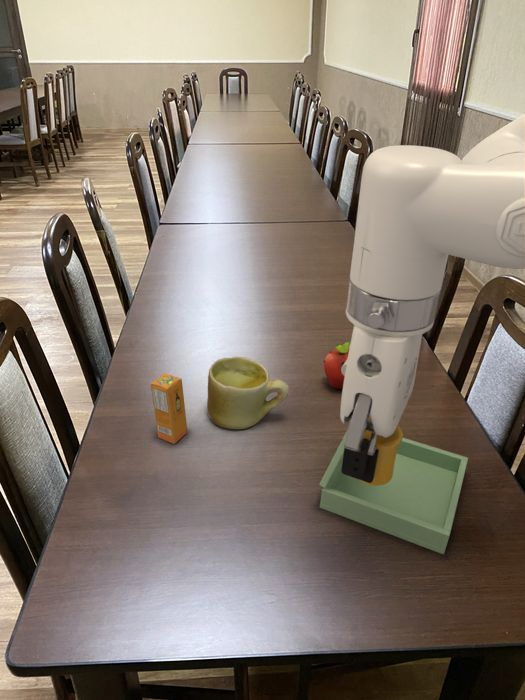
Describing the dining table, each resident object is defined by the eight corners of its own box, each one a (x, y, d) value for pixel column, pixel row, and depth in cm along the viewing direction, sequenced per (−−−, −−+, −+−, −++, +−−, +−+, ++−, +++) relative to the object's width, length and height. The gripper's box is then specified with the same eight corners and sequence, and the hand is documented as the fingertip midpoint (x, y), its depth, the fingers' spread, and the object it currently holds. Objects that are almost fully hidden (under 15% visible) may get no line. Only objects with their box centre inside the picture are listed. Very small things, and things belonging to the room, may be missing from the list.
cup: (405, 476, 55) (412, 435, 52) (372, 494, 53) (378, 453, 50) (373, 451, 58) (379, 411, 56) (341, 467, 56) (345, 426, 53)
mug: (184, 417, 81) (203, 358, 78) (214, 399, 90) (232, 345, 87) (255, 454, 78) (278, 394, 75) (278, 431, 87) (299, 377, 84)
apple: (317, 375, 95) (321, 326, 89) (354, 373, 96) (361, 323, 90) (328, 401, 88) (334, 349, 83) (368, 398, 89) (376, 347, 84)
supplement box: (170, 425, 82) (165, 370, 77) (188, 433, 81) (184, 378, 75) (155, 437, 80) (149, 382, 74) (173, 445, 78) (169, 389, 73)
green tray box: (463, 475, 74) (468, 457, 73) (443, 554, 63) (449, 536, 61) (354, 440, 80) (357, 423, 78) (319, 507, 69) (321, 489, 67)
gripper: (412, 359, 38) (377, 533, 48) (453, 275, 51) (419, 425, 61) (313, 333, 41) (299, 502, 50) (376, 260, 54) (355, 405, 63)
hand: (365, 458), depth 55 cm, fingers closed on cup, 4 cm apart
